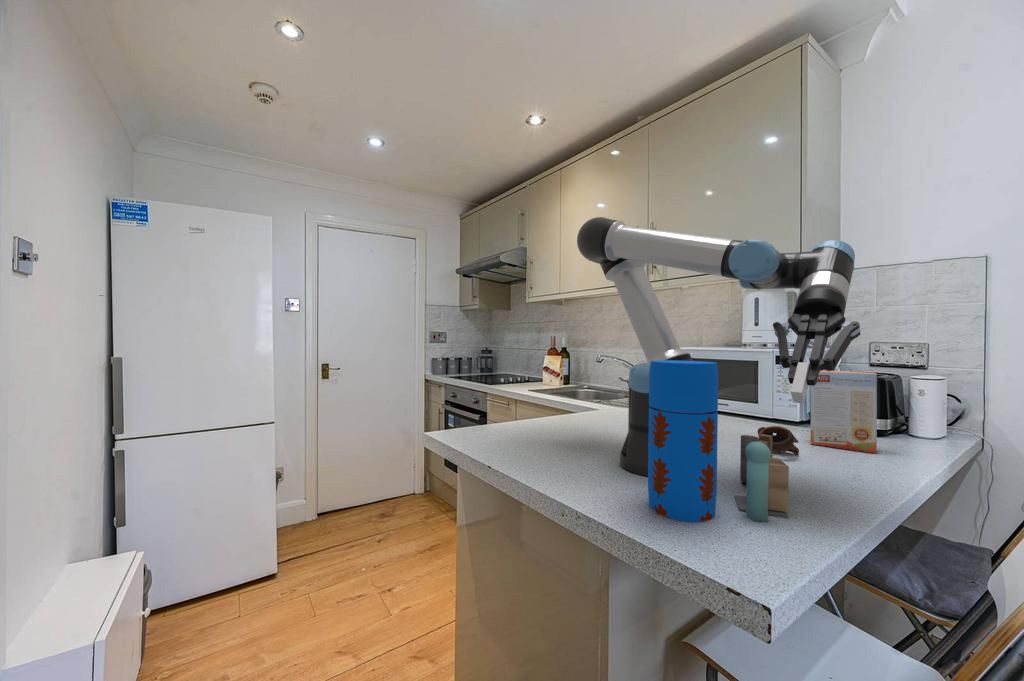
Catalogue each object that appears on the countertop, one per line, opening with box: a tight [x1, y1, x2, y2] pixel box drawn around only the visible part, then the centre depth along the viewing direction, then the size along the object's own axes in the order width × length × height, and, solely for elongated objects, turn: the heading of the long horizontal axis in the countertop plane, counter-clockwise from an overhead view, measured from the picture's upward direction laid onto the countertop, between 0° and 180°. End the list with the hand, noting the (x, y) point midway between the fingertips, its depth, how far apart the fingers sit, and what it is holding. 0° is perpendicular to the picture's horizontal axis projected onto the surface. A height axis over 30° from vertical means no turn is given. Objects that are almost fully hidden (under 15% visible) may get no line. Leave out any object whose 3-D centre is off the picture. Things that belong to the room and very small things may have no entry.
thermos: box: [647, 360, 719, 523], centre depth 70 cm, size 11×11×25 cm
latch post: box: [745, 442, 771, 523], centre depth 67 cm, size 4×4×12 cm
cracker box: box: [810, 370, 878, 454], centre depth 113 cm, size 14×6×21 cm, turn 49°
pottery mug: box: [757, 425, 800, 457], centre depth 105 cm, size 12×10×8 cm
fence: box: [758, 434, 773, 458], centre depth 88 cm, size 2×10×8 cm, turn 134°
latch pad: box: [733, 494, 789, 519], centre depth 71 cm, size 7×7×1 cm
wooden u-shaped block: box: [739, 434, 790, 513], centre depth 76 cm, size 16×5×9 cm, turn 163°
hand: (797, 397), depth 66 cm, fingers closed
